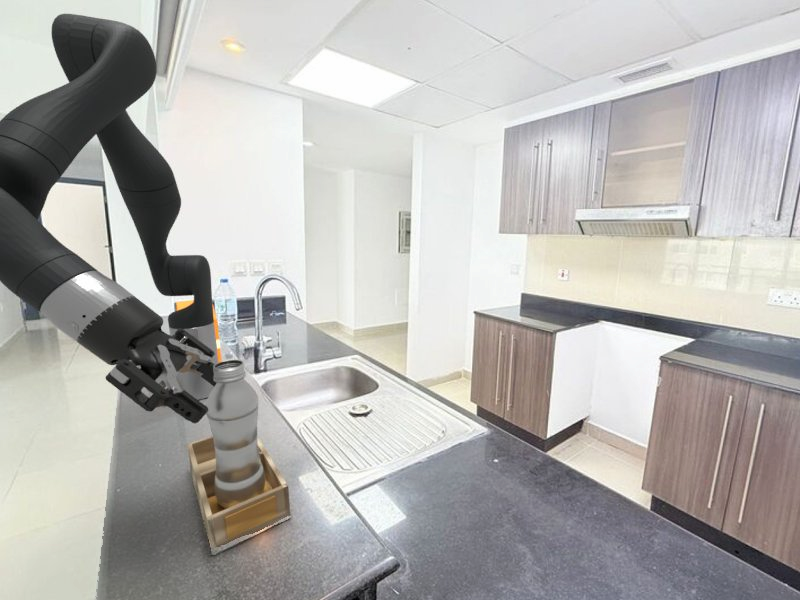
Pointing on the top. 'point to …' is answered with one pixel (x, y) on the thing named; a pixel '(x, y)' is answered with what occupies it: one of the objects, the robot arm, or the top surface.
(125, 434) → the top surface
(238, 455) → the plastic bottle
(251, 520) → the tray
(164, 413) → the top surface
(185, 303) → the orange juice
